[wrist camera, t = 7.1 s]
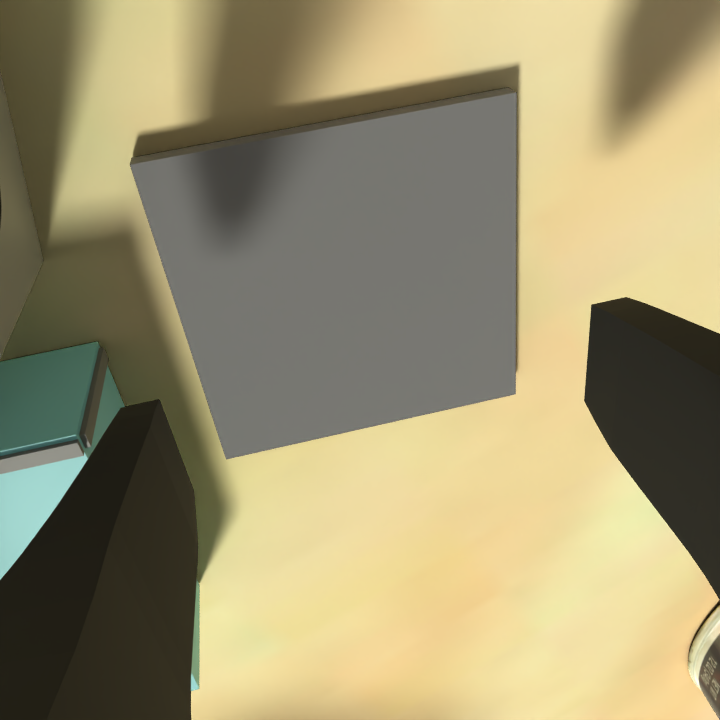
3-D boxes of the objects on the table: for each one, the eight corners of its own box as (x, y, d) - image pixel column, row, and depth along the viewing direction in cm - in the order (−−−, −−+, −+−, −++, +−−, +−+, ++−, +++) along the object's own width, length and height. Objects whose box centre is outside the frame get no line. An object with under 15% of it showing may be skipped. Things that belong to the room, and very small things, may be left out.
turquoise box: (203, 584, 19) (203, 691, 16) (34, 624, 18) (8, 741, 16) (102, 340, 14) (81, 437, 12) (-126, 387, 14) (-198, 497, 11)
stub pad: (509, 384, 17) (515, 394, 16) (225, 447, 16) (226, 459, 16) (508, 87, 13) (516, 91, 12) (131, 157, 12) (129, 165, 12)
